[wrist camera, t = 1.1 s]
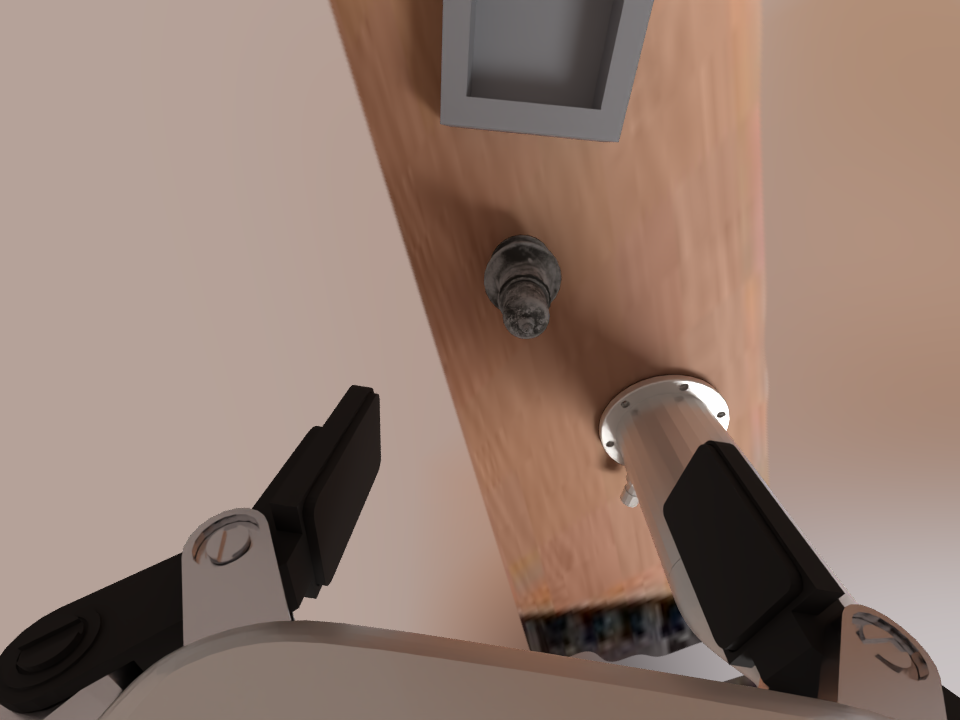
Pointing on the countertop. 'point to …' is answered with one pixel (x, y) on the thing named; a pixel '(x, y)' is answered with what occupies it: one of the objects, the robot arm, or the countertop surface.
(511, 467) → the countertop surface
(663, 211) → the countertop surface
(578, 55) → the holder
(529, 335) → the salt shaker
